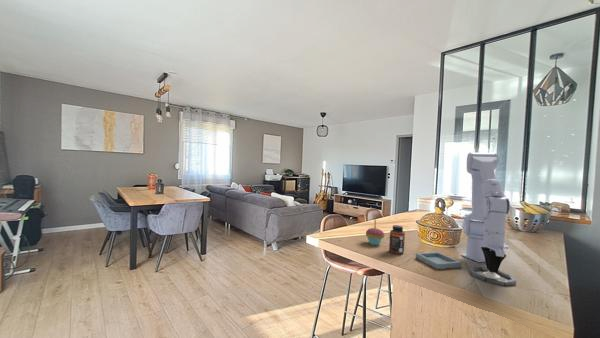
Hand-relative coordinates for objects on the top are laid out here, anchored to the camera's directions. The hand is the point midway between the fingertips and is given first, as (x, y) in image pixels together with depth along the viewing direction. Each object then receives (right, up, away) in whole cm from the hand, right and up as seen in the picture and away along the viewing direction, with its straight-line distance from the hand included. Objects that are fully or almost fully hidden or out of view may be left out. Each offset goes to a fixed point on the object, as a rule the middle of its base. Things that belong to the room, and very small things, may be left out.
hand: (491, 270), depth 85 cm
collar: (0, -2, 0) cm, 2 cm away
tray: (-13, -2, +11) cm, 17 cm away
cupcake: (-31, -1, +32) cm, 44 cm away
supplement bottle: (-25, -1, +21) cm, 33 cm away
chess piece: (0, -2, 0) cm, 2 cm away
